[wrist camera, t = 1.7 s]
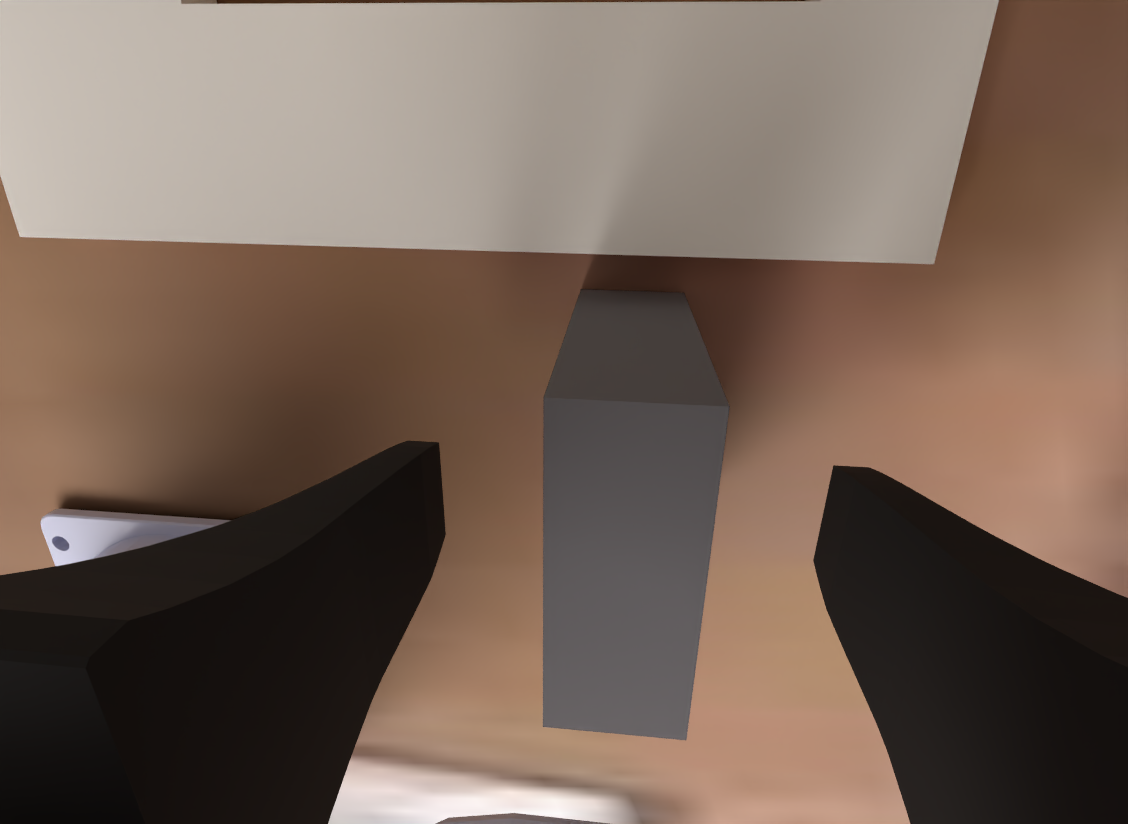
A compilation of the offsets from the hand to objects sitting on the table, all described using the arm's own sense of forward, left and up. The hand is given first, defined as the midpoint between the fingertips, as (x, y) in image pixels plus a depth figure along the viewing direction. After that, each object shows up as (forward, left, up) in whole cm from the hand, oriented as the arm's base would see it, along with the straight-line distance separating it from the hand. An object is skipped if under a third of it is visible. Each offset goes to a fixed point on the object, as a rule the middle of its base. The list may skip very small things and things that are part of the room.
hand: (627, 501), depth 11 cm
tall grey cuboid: (0, 0, -5) cm, 5 cm away
